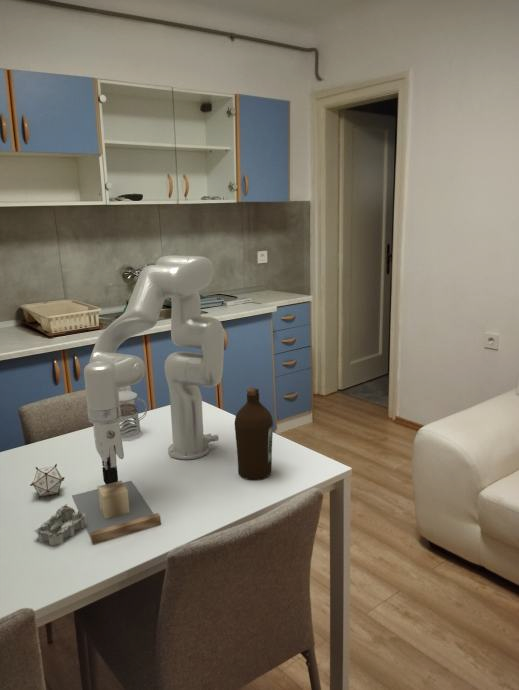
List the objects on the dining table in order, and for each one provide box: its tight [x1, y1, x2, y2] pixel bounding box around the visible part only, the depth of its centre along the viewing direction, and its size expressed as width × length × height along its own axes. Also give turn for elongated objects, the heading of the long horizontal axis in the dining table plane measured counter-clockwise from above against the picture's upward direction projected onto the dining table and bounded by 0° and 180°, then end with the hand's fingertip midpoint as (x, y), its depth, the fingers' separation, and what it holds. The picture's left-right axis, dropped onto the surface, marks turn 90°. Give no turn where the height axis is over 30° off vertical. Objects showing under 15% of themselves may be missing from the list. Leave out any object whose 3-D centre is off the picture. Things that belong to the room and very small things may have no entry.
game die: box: [29, 463, 66, 499], centre depth 148 cm, size 9×8×10 cm
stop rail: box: [90, 512, 162, 545], centre depth 131 cm, size 16×2×2 cm, turn 118°
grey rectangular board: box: [71, 480, 155, 540], centre depth 142 cm, size 16×24×1 cm
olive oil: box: [234, 386, 274, 481], centre depth 156 cm, size 11×11×25 cm
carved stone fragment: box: [34, 503, 87, 546], centre depth 131 cm, size 11×8×4 cm
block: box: [96, 480, 129, 519], centre depth 140 cm, size 6×6×6 cm
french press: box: [118, 388, 148, 442], centre depth 184 cm, size 10×12×25 cm
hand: (110, 481), depth 139 cm, fingers closed
